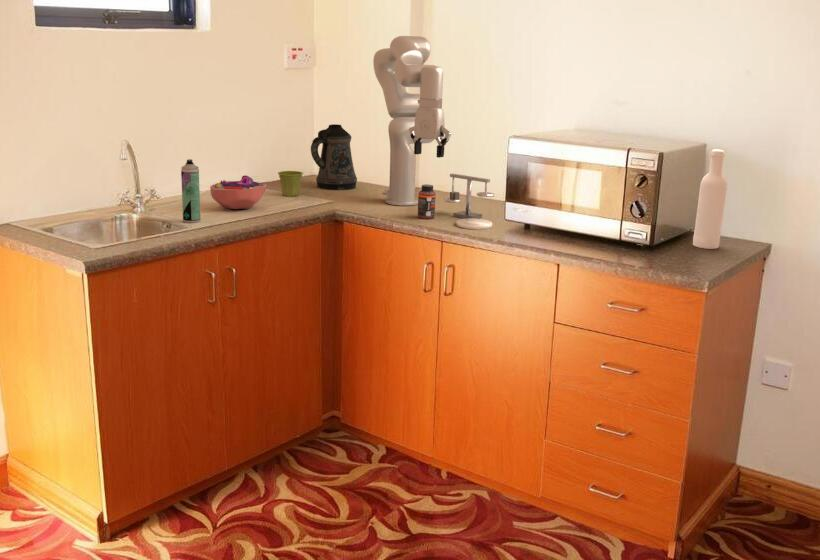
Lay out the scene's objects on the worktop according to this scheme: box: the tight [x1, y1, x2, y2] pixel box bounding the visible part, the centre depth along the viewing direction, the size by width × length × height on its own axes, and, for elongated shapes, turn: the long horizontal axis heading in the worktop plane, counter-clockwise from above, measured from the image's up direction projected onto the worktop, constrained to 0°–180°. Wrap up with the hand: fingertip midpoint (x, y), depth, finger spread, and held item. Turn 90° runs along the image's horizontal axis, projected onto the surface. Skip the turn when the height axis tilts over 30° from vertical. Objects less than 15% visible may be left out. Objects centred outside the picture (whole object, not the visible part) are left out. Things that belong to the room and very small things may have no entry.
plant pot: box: [277, 170, 304, 198], centre depth 329 cm, size 9×9×9 cm
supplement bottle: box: [417, 183, 437, 220], centre depth 297 cm, size 6×6×11 cm
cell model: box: [209, 175, 267, 210], centre depth 301 cm, size 17×20×11 cm
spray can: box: [180, 158, 201, 224], centre depth 277 cm, size 6×6×20 cm
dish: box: [455, 218, 493, 231], centre depth 288 cm, size 12×12×1 cm
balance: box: [443, 173, 495, 219], centre depth 300 cm, size 20×6×14 cm, turn 50°
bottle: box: [692, 149, 728, 250], centre depth 266 cm, size 8×8×30 cm
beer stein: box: [310, 123, 358, 191], centre depth 347 cm, size 16×19×25 cm
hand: (428, 155), depth 292 cm, fingers open, 9 cm apart
